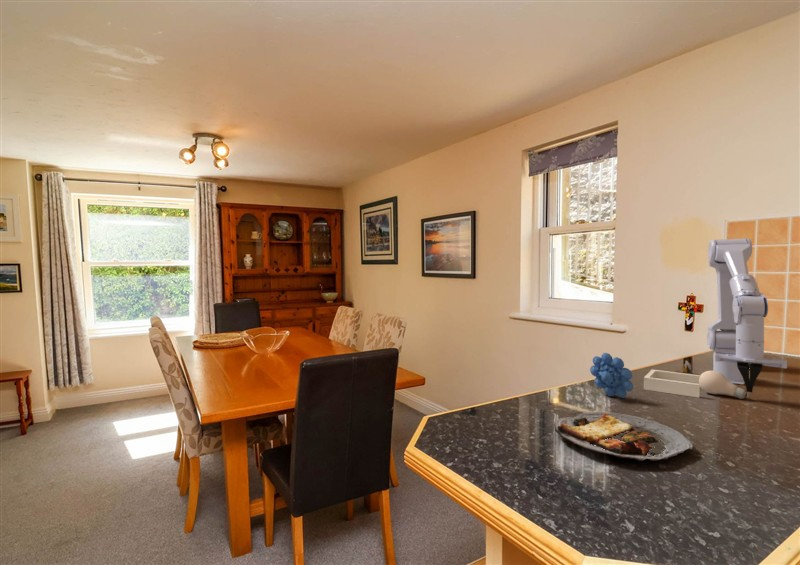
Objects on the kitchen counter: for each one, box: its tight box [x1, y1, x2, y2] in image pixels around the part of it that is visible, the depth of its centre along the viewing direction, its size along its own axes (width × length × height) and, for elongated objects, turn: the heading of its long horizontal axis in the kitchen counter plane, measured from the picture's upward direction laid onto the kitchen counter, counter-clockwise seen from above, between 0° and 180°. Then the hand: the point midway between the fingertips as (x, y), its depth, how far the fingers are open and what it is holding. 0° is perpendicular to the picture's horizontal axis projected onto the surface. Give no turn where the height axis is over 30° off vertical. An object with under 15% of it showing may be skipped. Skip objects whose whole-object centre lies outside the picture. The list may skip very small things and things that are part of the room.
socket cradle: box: [643, 368, 702, 399], centre depth 121 cm, size 12×13×4 cm
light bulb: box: [699, 369, 748, 400], centre depth 114 cm, size 7×7×11 cm
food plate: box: [553, 411, 694, 462], centre depth 85 cm, size 25×23×4 cm
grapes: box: [589, 352, 634, 399], centre depth 114 cm, size 12×7×12 cm, turn 39°
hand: (749, 391), depth 110 cm, fingers closed
